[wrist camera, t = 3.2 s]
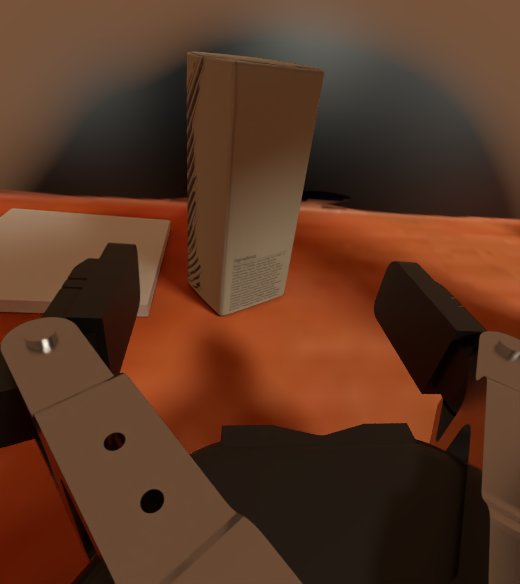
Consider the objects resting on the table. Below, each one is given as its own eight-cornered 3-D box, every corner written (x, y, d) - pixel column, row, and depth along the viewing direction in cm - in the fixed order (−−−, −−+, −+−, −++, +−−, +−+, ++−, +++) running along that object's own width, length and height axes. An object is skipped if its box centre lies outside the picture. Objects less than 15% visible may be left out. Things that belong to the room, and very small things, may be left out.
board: (170, 229, 30) (170, 220, 29) (147, 316, 20) (147, 305, 19) (14, 218, 28) (12, 208, 27) (-96, 308, 18) (-103, 295, 18)
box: (247, 267, 26) (273, 60, 19) (285, 298, 23) (332, 69, 16) (181, 284, 23) (183, 46, 16) (216, 322, 20) (236, 54, 13)
